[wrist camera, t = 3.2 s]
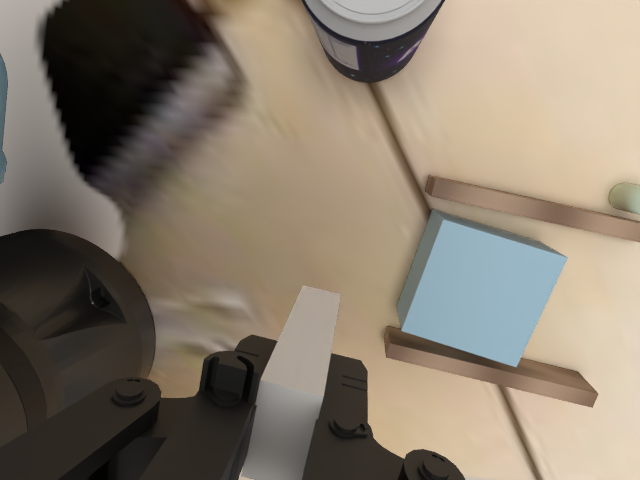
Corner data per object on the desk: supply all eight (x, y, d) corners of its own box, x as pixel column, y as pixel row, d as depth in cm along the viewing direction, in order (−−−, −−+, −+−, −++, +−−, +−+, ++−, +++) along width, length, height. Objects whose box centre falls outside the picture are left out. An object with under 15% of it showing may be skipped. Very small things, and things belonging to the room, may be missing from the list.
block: (396, 305, 29) (401, 330, 25) (431, 208, 27) (443, 219, 23) (495, 336, 28) (516, 367, 24) (538, 240, 27) (567, 257, 23)
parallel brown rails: (384, 339, 29) (386, 357, 26) (429, 175, 26) (435, 178, 24) (572, 384, 28) (592, 407, 26) (640, 221, 25) (669, 230, 23)
